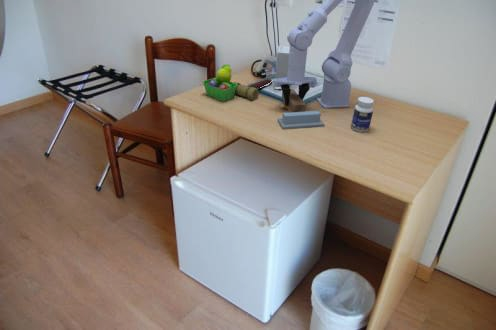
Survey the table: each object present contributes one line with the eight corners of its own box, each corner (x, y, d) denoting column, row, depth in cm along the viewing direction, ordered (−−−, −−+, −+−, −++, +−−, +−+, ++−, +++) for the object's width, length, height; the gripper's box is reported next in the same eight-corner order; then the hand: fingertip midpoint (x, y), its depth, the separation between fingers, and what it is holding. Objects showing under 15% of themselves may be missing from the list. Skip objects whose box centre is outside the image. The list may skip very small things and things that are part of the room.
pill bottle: (356, 133, 127) (362, 104, 122) (347, 125, 132) (353, 96, 126) (372, 131, 128) (378, 102, 123) (363, 123, 133) (369, 95, 128)
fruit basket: (201, 94, 149) (200, 64, 143) (219, 88, 154) (218, 59, 148) (223, 104, 143) (223, 73, 136) (240, 97, 148) (241, 67, 142)
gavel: (262, 72, 163) (283, 78, 158) (261, 83, 165) (282, 89, 160) (230, 83, 148) (252, 90, 143) (229, 95, 150) (251, 102, 145)
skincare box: (274, 82, 162) (277, 45, 154) (289, 83, 162) (293, 46, 154) (274, 90, 155) (276, 51, 147) (289, 91, 155) (293, 52, 147)
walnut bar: (292, 100, 148) (293, 88, 145) (304, 116, 136) (306, 104, 134) (281, 100, 147) (282, 89, 144) (293, 117, 135) (294, 105, 133)
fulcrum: (317, 118, 135) (319, 108, 133) (324, 126, 130) (325, 116, 128) (277, 120, 132) (278, 110, 131) (282, 129, 128) (283, 118, 126)
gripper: (278, 71, 129) (275, 110, 136) (321, 69, 132) (316, 107, 139) (273, 64, 134) (270, 101, 142) (314, 62, 137) (309, 99, 145)
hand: (292, 104), depth 141 cm, fingers closed on walnut bar, 4 cm apart
